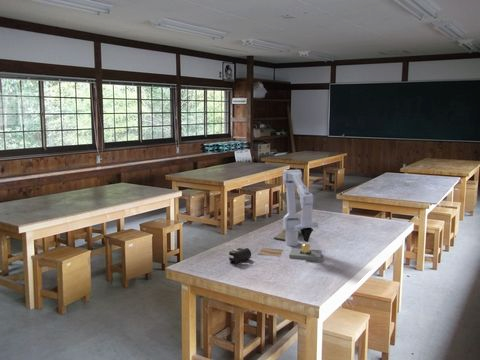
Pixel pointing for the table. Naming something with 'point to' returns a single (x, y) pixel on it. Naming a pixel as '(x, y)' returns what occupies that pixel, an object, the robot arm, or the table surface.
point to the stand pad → (270, 252)
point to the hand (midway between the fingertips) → (306, 241)
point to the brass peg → (305, 248)
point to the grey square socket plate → (306, 255)
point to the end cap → (239, 255)
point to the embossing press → (283, 234)
